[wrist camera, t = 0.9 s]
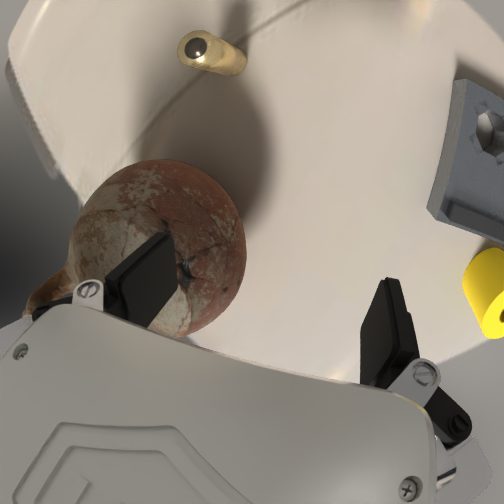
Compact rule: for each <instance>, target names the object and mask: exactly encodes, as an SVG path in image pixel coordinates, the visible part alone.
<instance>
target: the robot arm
mask: <svg viewBox="0 0 504 504" xmlns="http://www.w3.org/2000/svg"><path fill="white" fill-rule="evenodd" d="M104 278H105V283H103V284H102V282H101V281H99V280H95V279H91V280H86V281H84V282H82V283H80V284H79V285H78V286H77V287H76V288H75V290H74V293H73V296H71V297H67V298H62V299H58V300H54V301H50V302H45V303H42V304H40V305H38V306H37V307H36V308H35V310H34V311H33V313H32V317H30V316H29V315H28V316H26V317H24V318H22V319H20V320H18V321H16V322H14V323H12V324H10V325H8V326H6V327H4V328H2V329H0V504H470V503H471V502H472V501H473V500H474V499H476V498H477V496H479V495H480V494H481V493H482V492H483V491H484V490H485V489H486V488H487V487H488V485H489V484H490V482H491V479H492V469H491V467H490V465H489V463H488V460H487V458H486V456H485V455H484V452H483V451H482V449H481V447H480V445H479V443H478V441H477V439H476V437H473V438H472V437H471V435H470V433H471V430H472V422H471V419H470V417H469V415H468V414H467V413H466V412H465V411H464V410H463V409H462V408H461V407H460V406H459V405H458V404H457V403H456V402H455V401H454V400H453V399H452V398H451V397H449V396H448V395H447V394H446V393H445V392H444V391H443V390H442V389H441V388H440V387H439V384H440V381H441V375H440V371H439V370H438V368H437V366H436V365H435V364H434V363H433V362H431V361H429V360H427V359H424V358H420V355H419V349H418V344H417V339H416V334H415V330H414V325H413V321H412V317H411V314H410V313H409V312H407V308H406V304H405V300H404V296H403V293H402V289H401V285H400V281H399V280H398V279H393V278H388V277H386V278H385V280H381V281H380V283H379V285H378V288H377V291H376V293H375V296H374V298H373V300H372V303H371V305H370V308H369V310H368V312H367V315H366V317H365V319H364V321H363V324H362V326H361V331H360V384H357V383H351V382H345V381H339V380H334V379H328V378H323V377H318V376H313V375H308V374H303V373H298V372H293V371H289V370H284V369H280V368H276V367H272V366H267V365H263V364H259V363H256V362H252V361H248V360H244V359H240V358H237V357H233V356H230V355H226V354H223V353H219V352H216V351H213V350H209V349H206V348H203V347H200V346H197V345H193V344H190V343H187V342H184V341H181V340H178V339H175V338H172V337H170V336H167V335H164V334H161V333H158V332H156V331H153V330H150V329H148V326H149V325H150V324H151V322H152V321H153V320H154V319H155V317H156V316H157V315H158V313H159V312H160V311H161V310H162V308H163V307H164V306H165V304H166V303H167V302H168V301H169V299H170V298H171V297H172V296H173V294H174V293H175V292H176V290H177V288H178V276H177V267H176V257H175V247H174V239H173V237H171V235H170V234H169V233H164V232H157V233H155V234H154V235H153V236H152V237H150V238H149V239H148V240H147V241H146V242H144V243H143V244H142V245H141V246H140V247H138V248H137V249H136V250H135V251H134V252H133V253H131V254H130V255H129V256H128V257H127V258H126V259H124V260H123V261H122V262H121V263H120V264H119V265H118V266H116V267H115V268H114V269H113V270H112V271H111V272H110V273H108V274H107V275H106V276H105V277H104Z"/></svg>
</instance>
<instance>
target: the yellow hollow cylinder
mask: <svg viewBox="0 0 504 504" xmlns="http://www.w3.org/2000/svg"><path fill="white" fill-rule="evenodd" d="M462 285H463V290H464V293H465V295H466V297H467V299H468V301H469V303H470V305H471V307H472V309H473V311H474V314H475V316H476V318H477V320H478V322H479V325H480V327H481V330H482V332H483V334H484V335H485V336H486V337H487V338H490V339H497V338H501V337H504V251H502V250H501V249H499V248H489V249H486V250H484V251H482V252H480V253H479V254H478V255H476V256H475V257H474V258H473V260H472V261H471V262H470V263H469V265H468V267H467V269H466V271H465V273H464V276H463V283H462Z"/></svg>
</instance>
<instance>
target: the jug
mask: <svg viewBox="0 0 504 504" xmlns="http://www.w3.org/2000/svg"><path fill="white" fill-rule="evenodd" d="M157 232H164V233H169V234H170V235H171V237H173V239H174V247H175V257H176V267H177V276H178V288H177V290H176V292H175V293H174V294H173V296H172V297H171V298H170V299H169V301H168V302H167V303H166V304H165V306H164V307H163V308H162V310H161V311H160V312H159V313H158V315H157V316H156V317H155V319H154V320H153V321H152V322H151V324H150V325H149V326H148V329H150V330H153V331H156V332H158V333H161V334H164V335H167V336H170V337H172V338H175V339H179V338H181V337H184V336H186V335H189V334H191V333H193V332H196V331H198V330H200V329H201V328H203V327H205V326H206V325H208V324H209V323H211V322H212V321H213V320H215V319H216V318H217V317H218V316H219V315H220V314H221V313H223V312H224V311H225V309H226V308H227V307H228V306H229V305H230V303H231V302H232V300H233V299H234V298H235V296H236V294H237V292H238V290H239V288H240V285H241V283H242V280H243V276H244V272H245V266H246V259H247V253H246V240H245V234H244V229H243V225H242V221H241V218H240V216H239V214H238V211H237V209H236V207H235V205H234V203H233V201H232V199H231V198H230V197H229V195H228V194H227V192H226V191H225V190H224V189H223V188H222V187H221V185H220V184H219V183H217V182H216V181H215V180H214V179H213V178H212V177H210V176H209V175H208V174H206V173H205V172H203V171H201V170H200V169H198V168H196V167H194V166H192V165H189V164H186V163H183V162H180V161H174V160H149V161H143V162H139V163H135V164H132V165H129V166H127V167H125V168H123V169H121V170H119V171H118V172H116V173H114V174H113V175H112V176H111V177H109V178H108V179H107V180H106V181H105V182H104V183H103V184H102V185H101V186H100V187H99V188H98V189H97V190H96V191H95V192H94V193H93V194H92V196H91V197H90V198H89V200H88V201H87V202H86V204H85V206H84V207H83V209H82V211H81V213H80V215H79V217H78V219H77V221H76V223H75V225H74V227H73V230H72V232H71V236H70V242H69V253H68V258H67V261H66V263H65V265H64V267H63V268H62V269H61V270H60V271H58V272H57V273H56V274H54V275H53V276H52V277H50V278H49V279H48V280H47V281H46V282H44V283H43V284H42V285H41V286H40V287H39V288H38V289H37V290H36V291H35V292H34V293H33V294H32V295H31V296H30V297H29V299H28V302H27V306H26V309H25V310H24V311H23V314H22V317H21V319H22V318H24V317H26V316H28V315H29V316H30V317H32V313H33V311H34V310H35V308H36V307H37V306H38V305H40V304H42V303H45V302H50V301H54V300H58V299H59V298H60V297H62V296H63V295H65V294H66V293H69V292H71V293H74V290H75V288H76V287H77V286H78V285H79V284H80V283H82V282H84V281H86V280H91V279H95V280H99V281H101V282H102V284H103V283H105V278H104V277H105V276H106V275H107V274H108V273H110V272H111V271H112V270H113V269H114V268H115V267H116V266H118V265H119V264H120V263H121V262H122V261H123V260H124V259H126V258H127V257H128V256H129V255H130V254H131V253H133V252H134V251H135V250H136V249H137V248H138V247H140V246H141V245H142V244H143V243H144V242H146V241H147V240H148V239H149V238H150V237H152V236H153V235H154V234H155V233H157Z"/></svg>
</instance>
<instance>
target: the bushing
mask: <svg viewBox="0 0 504 504" xmlns="http://www.w3.org/2000/svg"><path fill="white" fill-rule="evenodd" d="M177 54H178V58H179V60H180V61H181V62H182V63H183V64H184V65H186V66H190V67H195V68H199V69H203V70H208V71H212V72H216V73H220V74H223V75H227V76H234V75H237V74H239V73H241V72H242V71H243V70H244V69H245V67H246V65H247V57H246V55H245V53H244V52H243V51H241V50H240V49H238V48H236V47H234V46H233V45H231V44H229V43H227V42H225V41H224V40H222V39H220V38H218V37H216V36H214V35H212V34H210V33H208V32H206V31H202V30H197V31H193V32H190V33H189V34H187V35H186V36H185V37H184V38H183V39H182V40H181V41H180V43H179V46H178V50H177Z"/></svg>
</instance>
